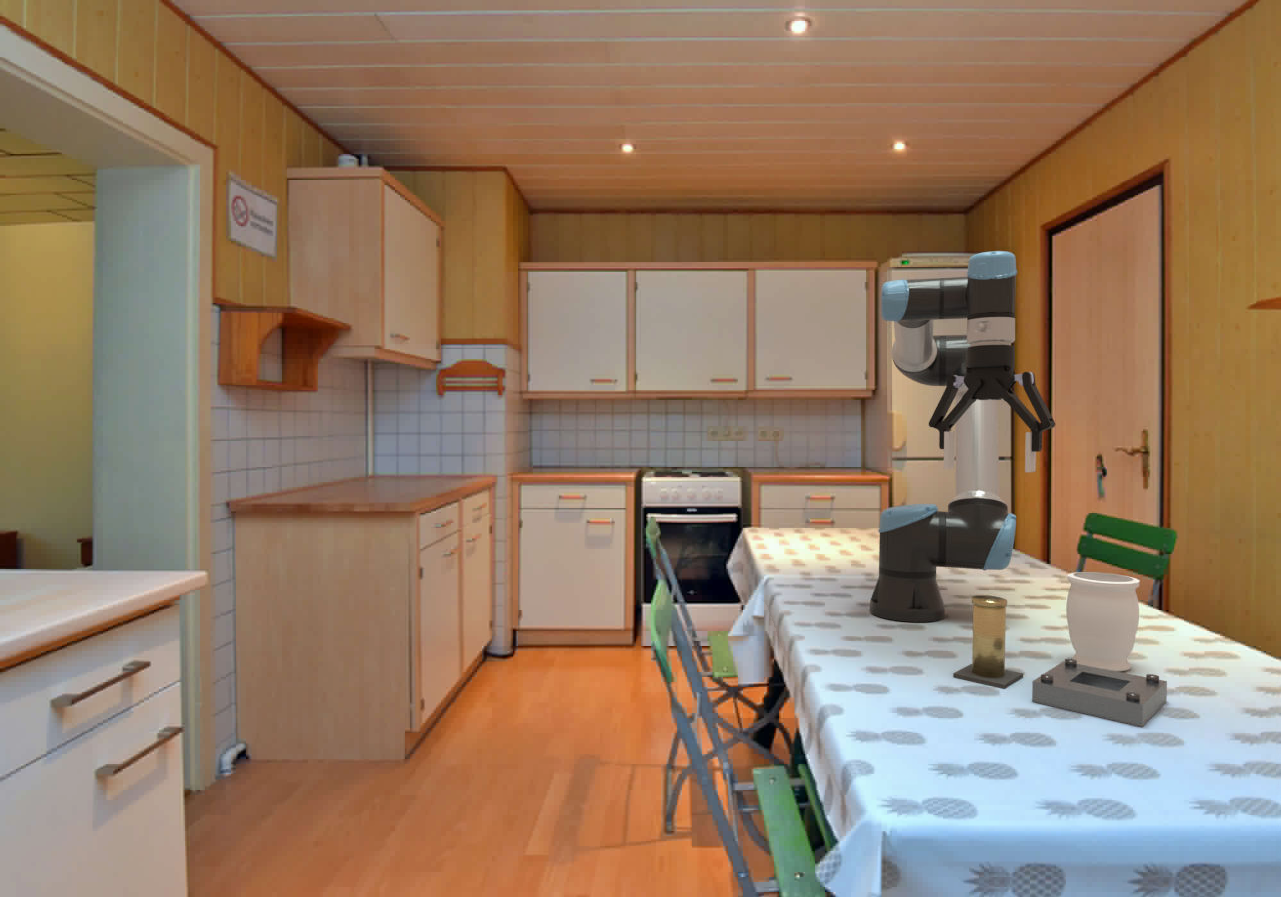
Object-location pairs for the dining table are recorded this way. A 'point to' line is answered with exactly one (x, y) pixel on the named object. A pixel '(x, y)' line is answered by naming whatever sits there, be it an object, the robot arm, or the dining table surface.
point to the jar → (1102, 618)
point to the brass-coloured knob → (989, 636)
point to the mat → (997, 682)
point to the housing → (1101, 692)
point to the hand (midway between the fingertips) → (988, 470)
